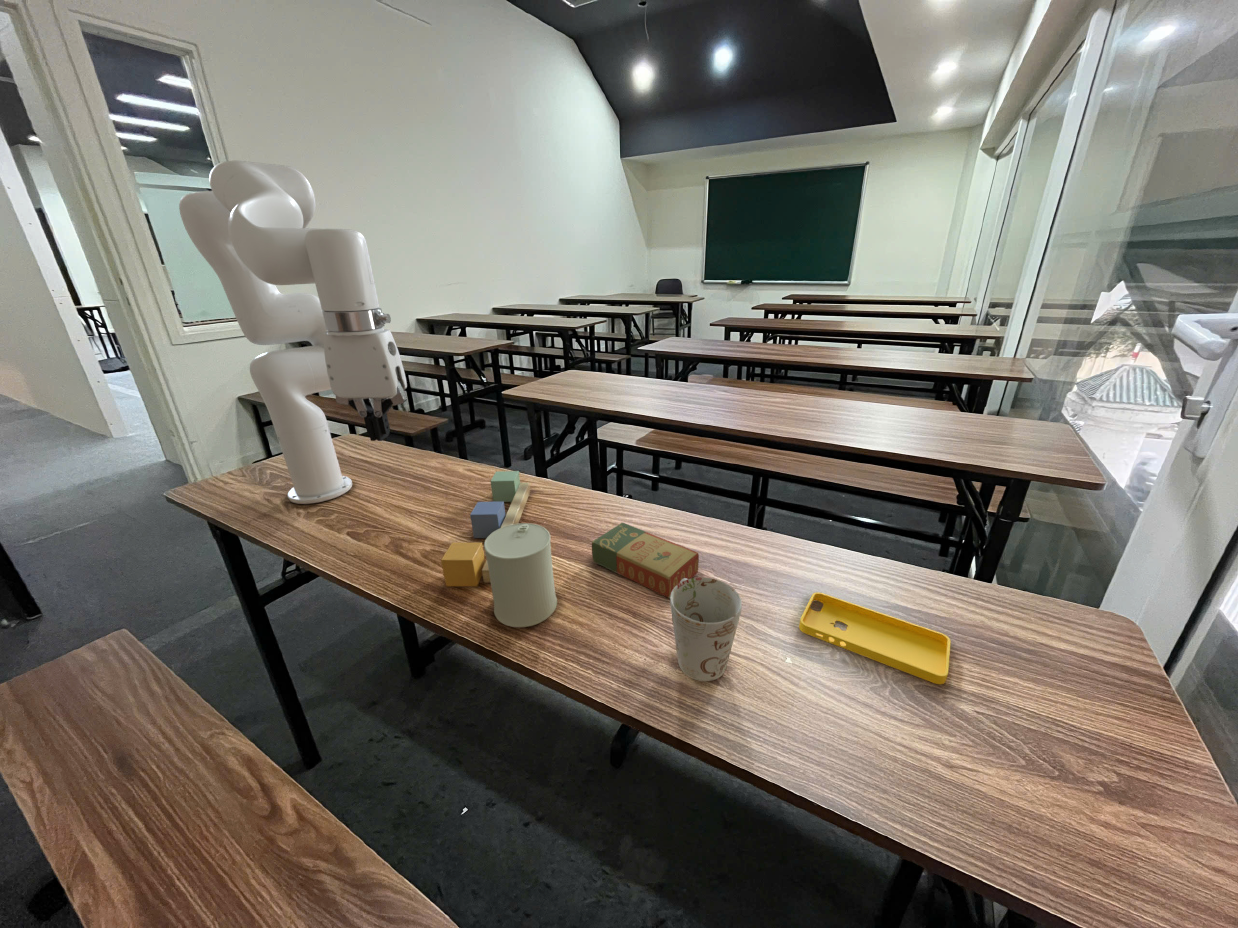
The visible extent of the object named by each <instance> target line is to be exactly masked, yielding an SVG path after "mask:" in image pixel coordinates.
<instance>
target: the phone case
mask: <svg viewBox="0 0 1238 928" xmlns="http://www.w3.org/2000/svg"><path fill="white" fill-rule="evenodd" d="M815 601H816V602H819V603H821V604H822V607H821V609H820V610H814V609H812V608H811V606H812V604H813V602H815ZM836 622H840V623H842V624H844V625H846V626H847V627H846V629H844V630H843V629H841V628H840V627H838V626H835V625H836ZM798 629H799V631H800V632H802V633H803V634H805V635H807V636H811V637H813V638H815V639H818V640H821V641H823V642H825V643H829V644H831V645H833V646H836V647H839V648H842V649H844V650H847V651H849V652H852V653H855V654H857V655H859V656H862V657H865V658H868V659H870V660H873V661H875V662H878V663H881V664H882V665H886V666H887V667H891V668H893V669H896V670H898V671H901V672H903V673H907V674H909V675H912V676H914V677H916V678H919V679H922V680H924V681H927V682H930V683H932V684H934V685H935V684H936V685H944V684H945V683H946V682H947V679H948V675H949V671H950V669H949V668H950V656H951V644H952V640H951V638H950V637H949V636H948V635H946V634H945V633H942V632H940V631H937V630H934V629H930V628H927V627H925V626H921V625H919V624H916V623H913V622H910V621H907V620H904V619H901V618H898V617H895V616H891V615H889V614H887V613H883V612H881V611H877V610H874V609H871V608H868V607H865V606H863V605H859V604H856V603H853V602H851V601H847V600H845V599H841V598H839V597H835V596H834V595H833V596H832V595H829V594H827V593H824V592H820V591H816V592H813V593H812V594H811V595H810V598H809V600H808V603H807V604H806V606H805V608H804V610H803V613H802V614H801V617H800V618H799V624H798Z"/></svg>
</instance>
